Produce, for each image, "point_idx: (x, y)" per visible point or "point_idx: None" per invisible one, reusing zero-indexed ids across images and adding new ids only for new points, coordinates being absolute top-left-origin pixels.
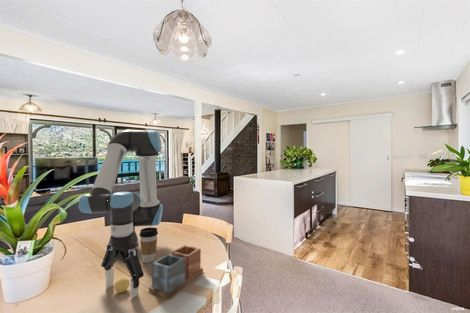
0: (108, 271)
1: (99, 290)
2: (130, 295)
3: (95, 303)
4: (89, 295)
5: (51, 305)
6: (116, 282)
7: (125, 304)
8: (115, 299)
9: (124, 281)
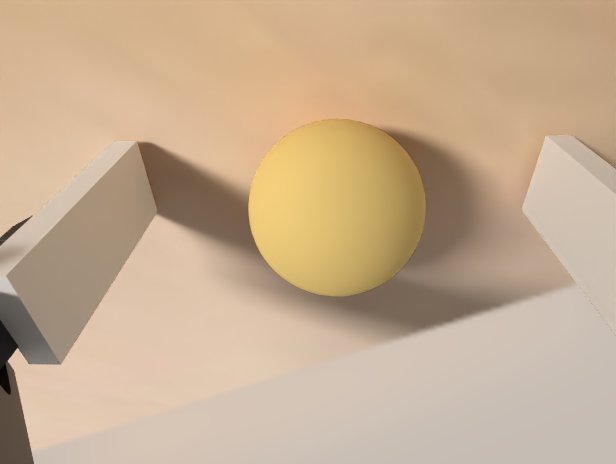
0: (60, 335)
1: None
2: (532, 223)
3: (288, 335)
4: (147, 309)
5: (89, 416)
6: (318, 294)
7: (525, 264)
8: None
9: (404, 250)
